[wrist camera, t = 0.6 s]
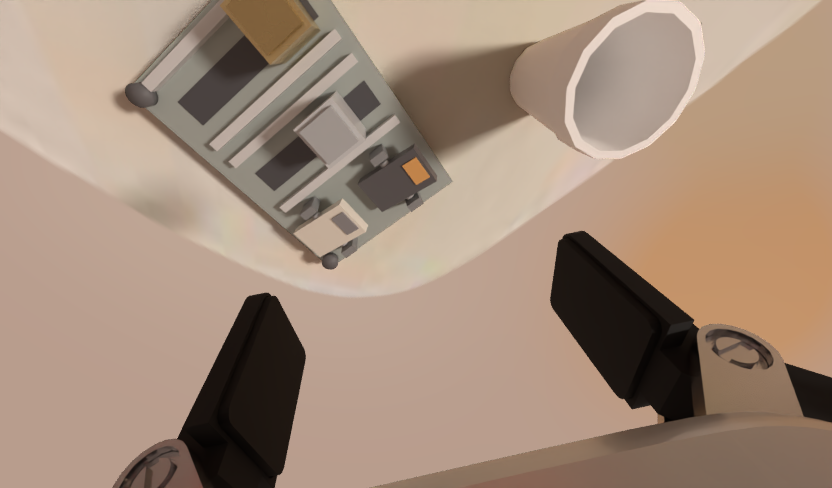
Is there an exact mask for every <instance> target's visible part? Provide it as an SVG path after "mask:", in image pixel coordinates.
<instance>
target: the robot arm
mask: <svg viewBox="0 0 832 488" xmlns="http://www.w3.org/2000/svg"><path fill="white" fill-rule="evenodd" d="M550 301H551V306H552V308H553V309H554V311H555V312H556V314H557V315H558V316H559V318H560V319H561V320H562V322H563V323H564V325H565V326H566V327H567V329H568V330H569V331H570V333H571V334H572V335H573V337H574V338H575V339H576V341H577V342H578V344H579V345H580V346H581V348H582V349H583V350H584V352H585V353H586V355H587V356H588V357H589V359H590V360H591V362H592V363H593V364H594V366H595V367H596V368H597V370H598V371H599V372H600V374H601V375H602V376H603V378H604V379H605V380H606V382H607V383H608V385H609V386H610V387H611V389H612V390H613V392H614V393H615V394H616V395H617V396H618V397H619V398H621V399H625V401H626V402H627V403H628V405H629V406H630V407H631V409H636V408H640V407H645V406H649V405H651V406H652V407H653V409H655V411H656V412H657V413H658V424H655V425H650V426H646V427H640V428H635V429H630V430H626V431H621V432H617V433H612V434H608V435H603V436H599V437H594V438H589V439H585V440H580V441H576V442H571V443H566V444H562V445H558V446H553V447H548V448H544V449H539V450H535V451H530V452H526V453H521V454H517V455H512V456H508V457H503V458H499V459H495V460H490V461H486V462H481V463H477V464H472V465H468V466H463V467H459V468H454V469H450V470H446V471H441V472H437V473H432V474H428V475H423V476H419V477H415V478H411V479H406V480H402V481H397V482H393V483H389V484H384V485H380V486H375V487H371V488H832V378H831V377H828V376H825V375H822V374H818V373H815V372H812V371H808V370H806V369H802V368H799V367H796V366H793V365H789V364H786V363H784V361H783V359H782V357H781V355H780V354H779V352H778V351H777V350H776V349H775V348H774V347H773V346H772V345H770V344H769V343H768V342H766V341H765V340H763V339H762V338H760V337H759V336H757V335H755V334H753V333H751V332H748V331H746V330H744V329H740V328H737V327H734V326H729V325H723V324H709V325H706V326H703V327H702V328H701V329H699V328H697V327H696V326H695V325H694V324H693V322H694V319H692V318H691V317H690V316H689V315H688V314H686V313H685V312H684V311H683V310H681V309H680V308H679V307H678V306H676V305H675V304H674V303H673V302H671V301H670V300H669V299H668V298H667V297H665V296H664V295H663V294H662V293H660V292H659V291H658V290H657V289H656V288H654V287H653V286H652V285H651V284H649V283H648V282H647V281H646V280H644V279H643V278H642V277H641V276H639V275H638V274H637V273H636V272H635V271H633V270H632V269H631V268H630V267H628V266H627V265H626V264H625V263H623V262H622V261H621V260H620V259H618V258H617V257H616V256H615V255H614V254H612V253H611V252H610V251H609V250H607V249H606V248H605V247H604V246H602V245H601V244H600V243H599V242H598V241H596V240H595V239H594V238H593V237H591V236H590V235H589V234H588V233H586V232H585V231H579V232H574V233H569V234H566V235H564V236H563V239H561V240H559V242H558V247H557V255H556V262H555V269H554V276H553V283H552V290H551V297H550ZM305 359H306V355H305V350H304V348H303V346H302V344H301V342H300V341H299V338H298V337H297V335H296V333H295V331H294V329H293V327H292V325H291V323H290V321H289V320H288V318H287V315H286V314H285V312H284V310H283V308H282V306H281V304H280V302H279V300H278V298H277V297H276V296H271V295H270V294H269V293H262V294H257V295H252V296H249V297H247V298H246V300H245V302H244V304H243V306H242V308H241V310H240V312H239V314H238V316H237V318H236V320H235V322H234V324H233V326H232V328H231V330H230V332H229V334H228V336H227V338H226V340H225V342H224V344H223V346H222V349H221V350H220V352H219V354H218V356H217V358H216V361H215V363H214V365H213V367H212V369H211V371H210V373H209V375H208V377H207V379H206V381H205V383H204V385H203V387H202V389H201V391H200V393H199V395H198V397H197V399H196V401H195V403H194V405H193V407H192V409H191V411H190V413H189V415H188V417H187V419H186V421H185V423H184V425H183V427H182V430H181V432H180V434H179V436H178V438H177V439H169V440H164V441H162V442H159V443H157V444H155V445H153V446H152V447H150V448H148V449H147V450H145V451H144V452H142V453H141V454H140V455H139V456H138V457H137V458H135V459H134V460H133V461H132V462H131V463H130V464H129V465H128V467H127V468H126V469H125V470H124V471H123V472H122V473H121V475H120V476H119V478H118V479H117V481H116V483H115V484H114V486H113V488H275V483H276V478H277V475H280V474H281V473H282V471H283V469H284V465H285V460H286V455H287V450H288V445H289V440H290V435H291V430H292V424H293V419H294V415H295V410H296V405H297V400H298V395H299V389H300V385H301V380H302V375H303V370H304V365H305Z"/></svg>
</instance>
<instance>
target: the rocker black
mask: <svg viewBox="0 0 832 488" xmlns="http://www.w3.org/2000/svg"><path fill="white" fill-rule="evenodd" d="M436 181H437V175H436V173H435V172H434V170H433V169H432V167H431V166H430V164H429V163H428V162H427V160H426V159H425V157H424V156H423V154H422V153H421V152H420V150H419V149H418V147H417V146H416V144H415V143H414V144H413V145H411V146H410V147H408V148H407V149H405V150H403V151H402V152H400V153H399V154H397V155H396V156H394V157H393V158H391V159H390V160H387V159H386V160H384V161H383V162H382V163H380V166H379V167H377V168H376V169H374V170H373V171H371V172H370V173H368V174H367V175H365V176H364V177H362V178H361V179H360V180H359V182H358V184H357V185H358V186H359V187H360V188H361V189H362V190H363V191H364V193H365V194H366V195H367V196H368V197H369V198H370V199H371V200H372V202H373V203H374V204H375V205H376V206H377V207H378V208H379V209H380V211H381V212H384V211H385V210H387V209H389V208H391V207H392V206H394V205H396V204H398V203H399V202H401V201H403V200H405V199H407V200H408V199H411V198H412V197H413V196H414V194H415V193H417V192H419V191H421V190H422V189H424V188H426V187H428V186H429V185H431V184H433V183H435V182H436Z"/></svg>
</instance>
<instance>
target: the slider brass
mask: <svg viewBox="0 0 832 488" xmlns="http://www.w3.org/2000/svg"><path fill="white" fill-rule="evenodd" d="M220 7H221V8H222V9H223V10H224V11H225V13H226V14H227V15H228V16H229V17H230V18H231V20H232V21H233V22H234V23H235V24H236V25H237V27H238V28H239V29H240V30H241V31H242V32H243V34H244V35H245V36H246V37H247V38H248V39H249V41H250V42H251V43H252V44H253V45H254V47H255V48H256V49H257V50H258V51H259V52H260V54H261V55H262V56H263V57H264V58H265V59H266V61H267V62H268V63H269V64H270V65H273V64H283V63H287V62H288V61H289V60H290V59H291V58H292V57H293V56H294V55H295V54H296V53H297V52H298V51H300V50H301V49H302V48H303V47H304V46H305V45H306V44H307V43H308V42H309V41H310V40H311V39H312V38H314V37H315V36H316V35H317V34H318V33H319V32H320V31H321V30H320V28H319V27H318V25H317V24H316V23H315V21H314V20H313V19H312V17H311V16H310V14H309V13H308V12H307V10H306V9H305V7H304V6H303V5H302V3H301V2H300V1H299V0H224V1H223V2H222V4H221V5H220Z"/></svg>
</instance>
